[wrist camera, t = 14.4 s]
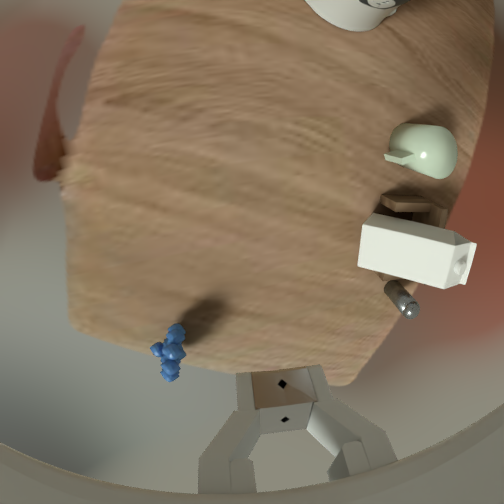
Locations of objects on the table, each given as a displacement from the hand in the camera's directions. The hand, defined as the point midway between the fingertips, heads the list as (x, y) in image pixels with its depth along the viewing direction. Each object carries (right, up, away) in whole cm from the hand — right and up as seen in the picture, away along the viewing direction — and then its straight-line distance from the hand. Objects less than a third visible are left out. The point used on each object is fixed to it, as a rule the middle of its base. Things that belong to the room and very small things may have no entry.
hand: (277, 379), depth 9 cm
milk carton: (+17, +7, +34) cm, 39 cm away
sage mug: (+25, +22, +31) cm, 45 cm away
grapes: (-16, -10, +42) cm, 47 cm away
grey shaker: (+27, -3, +43) cm, 51 cm away
